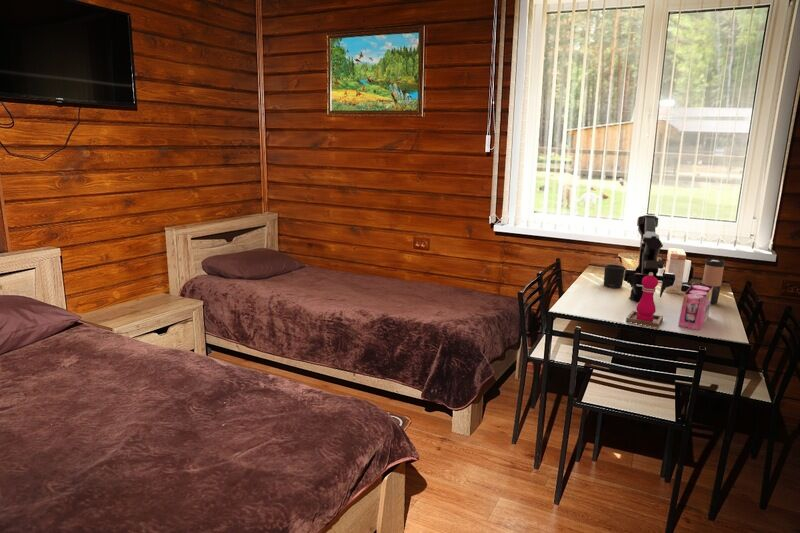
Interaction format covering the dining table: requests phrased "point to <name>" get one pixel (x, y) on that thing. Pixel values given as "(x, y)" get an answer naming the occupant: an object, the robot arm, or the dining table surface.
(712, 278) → the travel mug
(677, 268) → the coffeecake box
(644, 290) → the pepper mill
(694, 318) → the gum box
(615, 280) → the pen holder
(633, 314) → the walnut tray
